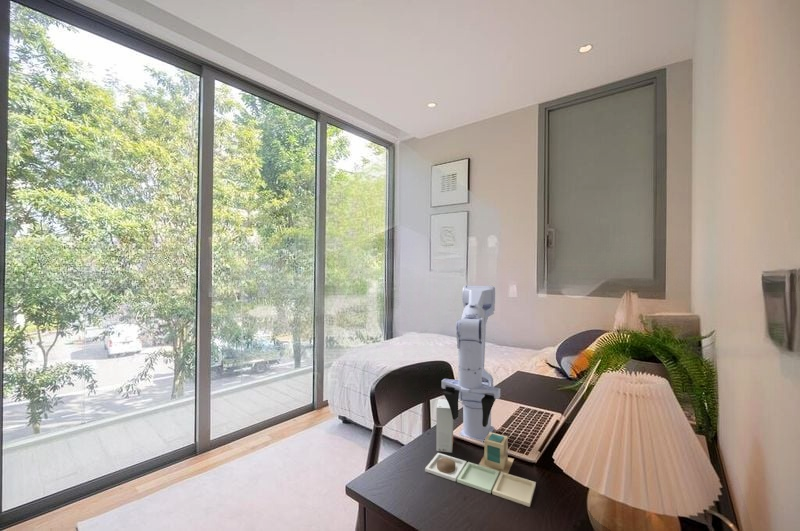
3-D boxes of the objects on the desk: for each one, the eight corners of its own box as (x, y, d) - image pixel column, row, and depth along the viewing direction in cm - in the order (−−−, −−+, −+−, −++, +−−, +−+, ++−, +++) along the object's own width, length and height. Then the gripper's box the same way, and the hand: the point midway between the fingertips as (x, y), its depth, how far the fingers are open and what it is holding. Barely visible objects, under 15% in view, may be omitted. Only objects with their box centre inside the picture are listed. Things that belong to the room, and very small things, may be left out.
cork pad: (486, 453, 90) (486, 451, 90) (513, 461, 87) (513, 458, 87) (478, 467, 84) (478, 465, 84) (507, 476, 81) (507, 474, 81)
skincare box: (452, 454, 90) (452, 408, 90) (436, 452, 91) (435, 407, 90) (453, 442, 96) (453, 399, 95) (438, 440, 97) (438, 398, 96)
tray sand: (501, 476, 81) (501, 471, 81) (535, 487, 77) (535, 482, 77) (492, 496, 74) (492, 490, 74) (529, 509, 70) (529, 503, 70)
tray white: (438, 457, 89) (438, 452, 89) (466, 466, 85) (466, 461, 85) (425, 473, 82) (425, 468, 82) (455, 483, 78) (455, 478, 78)
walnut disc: (441, 460, 86) (441, 456, 86) (458, 465, 84) (458, 461, 84) (434, 469, 83) (434, 465, 83) (451, 475, 80) (451, 471, 80)
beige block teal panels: (489, 455, 88) (489, 431, 88) (507, 460, 86) (507, 436, 86) (484, 464, 84) (484, 439, 84) (502, 470, 82) (502, 444, 82)
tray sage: (468, 466, 85) (468, 461, 85) (499, 476, 81) (499, 471, 81) (456, 484, 78) (457, 479, 78) (490, 495, 74) (490, 490, 74)
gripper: (436, 366, 86) (436, 421, 86) (495, 376, 79) (495, 435, 79) (447, 359, 92) (447, 410, 92) (502, 368, 85) (502, 423, 85)
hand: (469, 421), depth 86 cm, fingers open, 7 cm apart
